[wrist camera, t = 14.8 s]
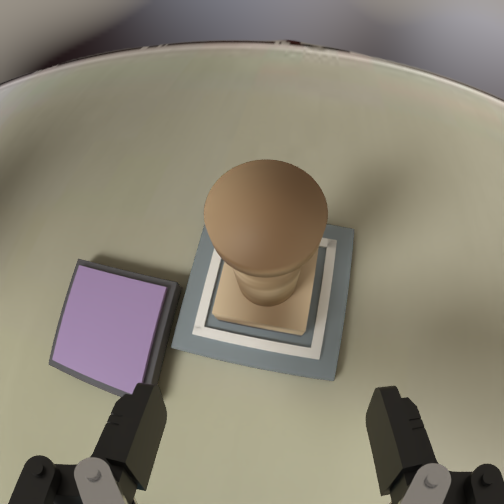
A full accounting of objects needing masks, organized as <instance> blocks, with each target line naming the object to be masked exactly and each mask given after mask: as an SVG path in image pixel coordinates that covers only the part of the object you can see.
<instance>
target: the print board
mask: <svg viewBox="0 0 504 504" xmlns="http://www.w3.org/2000/svg"><path fill="white" fill-rule="evenodd" d="M353 239H354V229H351V228H345V227H340V226H335V225H329V224H326V228H325V231H324V234H323V236H322V239H321V242H320V245H319V248H318V255H317V263H316V269H315V276H314V283H313V289H312V296H311V302H310V308H309V314H308V320H307V326H306V331H305V332H304V334H303V335H302V336H301V337H300V336H294V335H289V334H283V333H277V332H272V331H267V330H261V329H256V328H251V327H246V326H241V325H236V324H231V323H227V322H222V321H219V320H218V319H217V318H216V317H215V316H214V315H213V314H212V310H213V306H214V302H215V298H216V294H217V290H218V285H219V281H220V277H221V273H222V269H223V265H224V260H222V259H221V257H220V256H219V255H218V253H217V252H216V250H215V248H214V246H213V244H212V241H211V239H210V237H209V234H208V232H207V229H206V226H205V225H204V228H203V232H202V235H201V238H200V242H199V245H198V249H197V252H196V256H195V259H194V263H193V266H192V270H191V273H190V277H189V280H188V284H187V288H186V291H185V295H184V299H183V303H182V306H181V310H180V314H179V318H178V322H177V326H176V329H175V333H174V337H173V341H172V345H171V348H174V349H178V350H181V351H185V352H189V353H193V354H197V355H201V356H205V357H209V358H213V359H217V360H221V361H226V362H230V363H235V364H239V365H244V366H249V367H253V368H258V369H263V370H269V371H274V372H279V373H285V374H291V375H297V376H303V377H309V378H316V379H322V380H329V381H334V378H335V373H336V367H337V362H338V356H339V350H340V344H341V338H342V332H343V325H344V318H345V311H346V304H347V296H348V288H349V279H350V270H351V261H352V250H353Z"/></svg>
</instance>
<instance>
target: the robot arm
mask: <svg viewBox="0 0 504 504" xmlns="http://www.w3.org/2000/svg"><path fill="white" fill-rule="evenodd" d="M166 420H167V411H166V407H165V404H164V401H163V398H162V395H161V392H160V389H159V386H158V385H155V384H147V383H137V384H136V386H135V388H134V391H133V393H132V395H130V394H124V395H123V396H122V397H121V398H120V399H119V400H118V401H117V402H116V403H115V406H114V408H113V410H112V412H111V415H110V416H109V419H108V421H107V424H106V425H105V427H104V430H103V432H102V434H101V436H100V438H99V441H98V443H97V445H96V447H95V450H94V452H93V454H92V455H91V457H90V458H86V459H84V460H82V461H80V462H79V463H78V464H76V465H63V464H53V462H52V461H51V460H50V459H49V458H47V457H45V456H40V455H39V456H34V457H32V458H30V459H29V460H28V461H27V462H26V463H25V465H24V468H23V470H22V472H21V474H20V477H19V479H18V481H17V484H16V486H15V488H14V491H13V493H12V496H11V498H10V501H9V503H8V504H138V503H137V502H136V500H135V498H134V496H135V492H136V489H139V490H144V491H146V489H147V485H148V482H149V478H150V475H151V471H152V468H153V465H154V461H155V458H156V454H157V451H158V448H159V444H160V441H161V438H162V434H163V431H164V428H165V425H166ZM366 427H367V432H368V436H369V440H370V445H371V449H372V454H373V459H374V463H375V468H376V473H377V478H378V483H379V488H380V494H381V496H383V495H388V494H390V496H391V500H392V501H391V502H390V504H504V481H503V478H502V475H501V472H500V470H499V469H498V468H497V467H496V466H494V465H492V464H483V465H480V466H479V467H477V468H476V469H475V470H474V471H473V472H452V471H448V469H447V468H446V467H444V466H443V465H440V464H439V463H438V462H437V460H436V458H435V455H434V452H433V449H432V446H431V444H430V441H429V438H428V435H427V432H426V430H425V428H424V424H423V422H422V420H421V416H420V414H419V411H418V409H417V406H416V405H415V404H414V403H413V402H412V401H411V400H410V399H409V398H408V397H407V398H401V396H400V394H399V391H398V389H397V387H396V386H387V387H378V388H376V389H375V390H374V393H373V396H372V399H371V402H370V404H369V407H368V410H367V413H366Z"/></svg>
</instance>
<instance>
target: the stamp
mask: <svg viewBox="0 0 504 504" xmlns="http://www.w3.org/2000/svg"><path fill="white" fill-rule="evenodd" d="M327 219H328V209H327V203H326V199H325V196H324V194H323V192H322V190H321V188H320V187H319V185H318V184H317V183H316V181H315V180H314V179H313V178H312V177H311V176H310V175H309V174H307V173H306V172H305V171H303V170H302V169H300V168H298V167H296V166H294V165H292V164H289V163H286V162H282V161H277V160H255V161H250V162H246V163H243V164H240V165H238V166H236V167H234V168H232V169H231V170H229V171H227V172H226V173H225V174H224V175H222V176H221V177H220V178H219V179H218V180H217V181H216V183H215V184H214V185H213V187H212V188H211V190H210V192H209V194H208V196H207V199H206V203H205V207H204V221H205V226H206V229H207V232H208V234H209V237H210V239H211V241H212V244H213V246H214V248H215V250H216V252H217V253H218V255H219V256H220V257H221V259H222V260H224V265H223V269H222V273H221V277H220V281H219V285H218V290H217V294H216V298H215V302H214V306H213V310H212V314H213V315H214V316H215V317H216V318H217V319H218V320H219V321H222V322H227V323H231V324H236V325H241V326H246V327H251V328H256V329H261V330H267V331H272V332H277V333H283V334H289V335H294V336H300V337H301V336H302V335H303V334H304V332H305V331H306V326H307V320H308V314H309V308H310V302H311V296H312V289H313V283H314V276H315V269H316V263H317V255H318V248H319V245H320V242H321V239H322V236H323V234H324V231H325V228H326V224H327Z"/></svg>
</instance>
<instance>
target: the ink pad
mask: <svg viewBox="0 0 504 504" xmlns="http://www.w3.org/2000/svg"><path fill="white" fill-rule="evenodd" d="M181 289H182V287H181V286H180V285H179V284H178V283H177V282H173V281H168V280H164V279H160V278H155V277H151V276H146V275H142V274H138V273H134V272H130V271H125V270H121V269H117V268H113V267H109V266H105V265H101V264H97V263H93V262H89V261H85V260H81V259H78V261H77V264H76V267H75V270H74V273H73V276H72V279H71V282H70V285H69V288H68V291H67V295H66V298H65V301H64V305H63V308H62V311H61V315H60V319H59V322H58V326H57V330H56V334H55V338H54V342H53V346H52V350H51V355H50V359H49V365H51V366H53V367H55V368H57V369H59V370H61V371H63V372H65V373H67V374H69V375H71V376H73V377H75V378H77V379H80V380H82V381H84V382H86V383H88V384H91V385H93V386H95V387H98V388H100V389H102V390H105V391H107V392H110V393H112V394H115V395H117V396H120V397H122V396H123V395H124V394H130V395H132V393H133V391H134V388H135V386H136V384H137V383H147V384H155V385H157V384H158V380H159V376H160V371H161V367H162V363H163V359H164V355H165V351H166V347H167V343H168V339H169V335H170V331H171V327H172V323H173V319H174V315H175V311H176V308H177V304H178V300H179V297H180V293H181Z"/></svg>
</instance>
